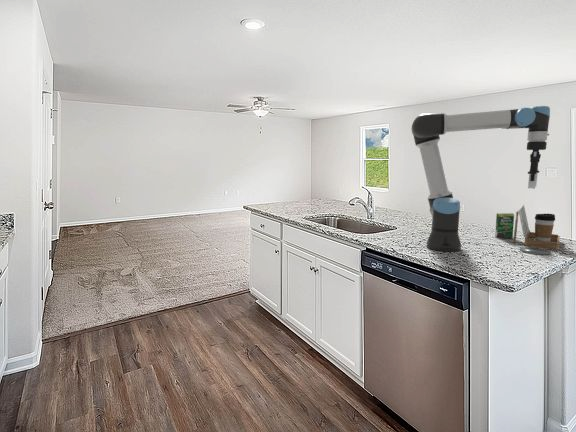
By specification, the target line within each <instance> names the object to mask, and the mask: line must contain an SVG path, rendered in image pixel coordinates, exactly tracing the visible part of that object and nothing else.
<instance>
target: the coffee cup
mask: <svg viewBox="0 0 576 432" xmlns="http://www.w3.org/2000/svg"><path fill="white" fill-rule="evenodd" d="M534 219H535V223H534V232H535V239H534V240H540V241H549V242H551V241H550V238H551V235H552V234H553V229H554V226H555V224H554V223H555V221H556V214H554V213H536V214H535V216H534Z"/></svg>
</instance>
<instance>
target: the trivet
mask: <svg viewBox="0 0 576 432" xmlns="http://www.w3.org/2000/svg"><path fill="white" fill-rule="evenodd" d="M519 251H520V252H522V253H526V254H531V255H538V256H549V255H551V254H552V251H551V250H550V249H544V248H536V247H527V246H523V247H520V248H519Z"/></svg>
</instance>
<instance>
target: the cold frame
mask: <svg viewBox="0 0 576 432" xmlns="http://www.w3.org/2000/svg"><path fill="white" fill-rule="evenodd" d="M517 210H518V211H516V212H515V219H514V222H515V223H514V229H513V242H512V243H513V244H516V242H517V241H516V240H517V234H518V233H517V231H518V223H519V222H518V221H519V220H520V225H521V229H522V234H523V238H524V245H523V247H535V248H542V249H546V250H552V249H553V250H554V251H559V250H560V237H561V236H560V235H558V234H554V233H552V235H551V238H550V242H549V241H540V240H535V231H531V229H530V227H529V222H528V216H527V213H526V208H525V204H521V206H519V208H518V209H517ZM555 241H556V242H555Z"/></svg>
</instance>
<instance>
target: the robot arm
mask: <svg viewBox="0 0 576 432" xmlns="http://www.w3.org/2000/svg"><path fill="white" fill-rule="evenodd" d="M550 117H551V108H550V107H549V106H548V105H538V106H531V107H521V108H514V109H504V110H493V111H492V110H491V111H490V110H489V111H479V112H468V113H467V112H466V113H456V114H446V113H445V112H441V113H440V112H439V113H432V112H431V113H429V112H428V113H426V112H425V113H421V114H419V115H418V116H417V117H415V118H414V120H413V122H412V125H411V133H412V135H413V140H414V145H415V147H417V148H419V152H420V155H421V160H422V164H423V165H422V166H423V168H424V173H425V177H426V181H427V182H426V183H427V187H428V190H429V191H428V192H429V195H428V197H427V201H428V206H429V212H430V215H431V216H432V217H431V220H432V221H431V231H430V234H429V236H428V239H427V241H426V247H427V248H428V249H431V250H434V251H439V252H458V251H460V250H462V244H461V240H460V239H461V238H460V236H459V223H460V210H461V202H460V200H458V199H456V198H454V196H453V192H451V191H450V190H449V189H448V184H447V180H446V175H445V171H444V167H443V162H442V157H441V153H440V149H439V141H440V140H441V138H440V135H445V134H446V133H451V132H452V133H453V132H454V133H455V132H463V131H465V132H467V131H468V132H469V131H476V130H477V131H478V130H479V131H480V130H492V129H506V130H509V129H510V130H511V129H528V132H527V139H526V140H527V141H528V142H527V143H526V150H527V151H531V153H530V154H529V158H530V159H529V162H530V166H529V171H527V174H528V185H527V189H536V187H537V182H538V181H537V180H538V173H540V170H539V163H540V159H541V156H542V154H541V153H540V151H545V150H546V149H547V144H548V142H547V140H548V136H550V133H548V132H549V125H550V124H549V123H550Z"/></svg>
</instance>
